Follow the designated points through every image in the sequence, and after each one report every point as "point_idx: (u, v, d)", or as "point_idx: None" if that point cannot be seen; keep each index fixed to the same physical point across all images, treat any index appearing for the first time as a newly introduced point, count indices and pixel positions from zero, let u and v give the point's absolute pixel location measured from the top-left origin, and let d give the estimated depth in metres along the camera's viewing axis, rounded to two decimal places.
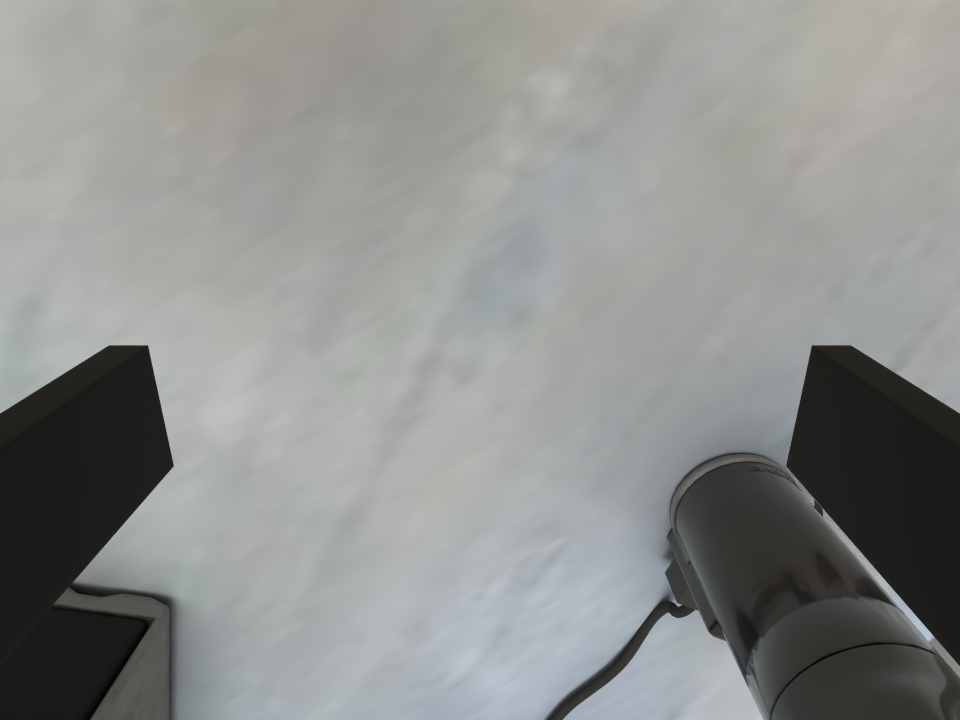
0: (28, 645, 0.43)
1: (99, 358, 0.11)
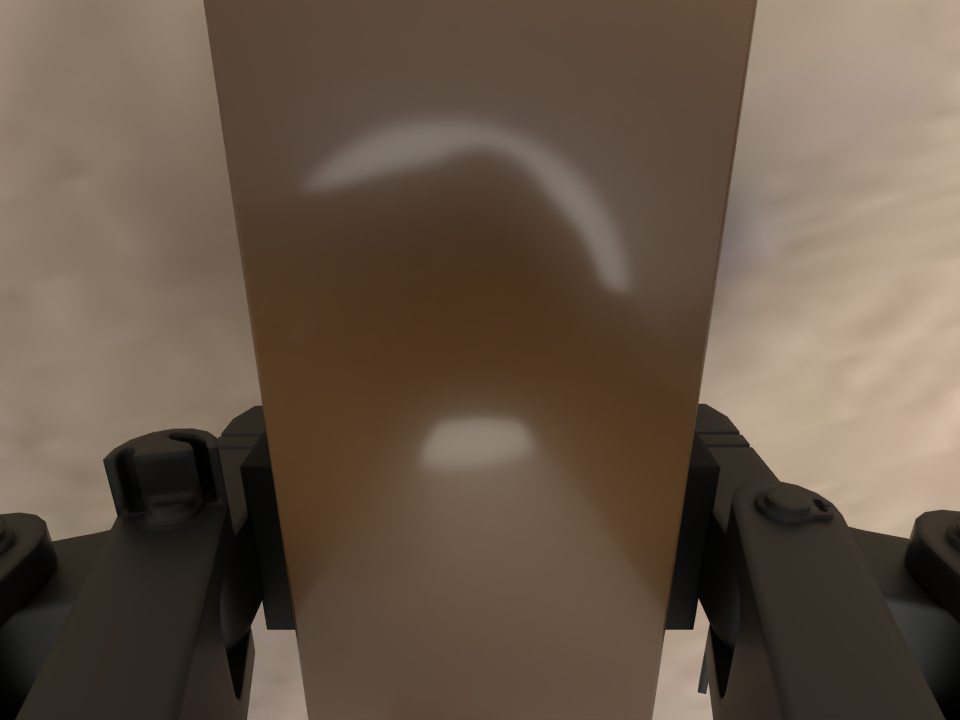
0: None
1: None
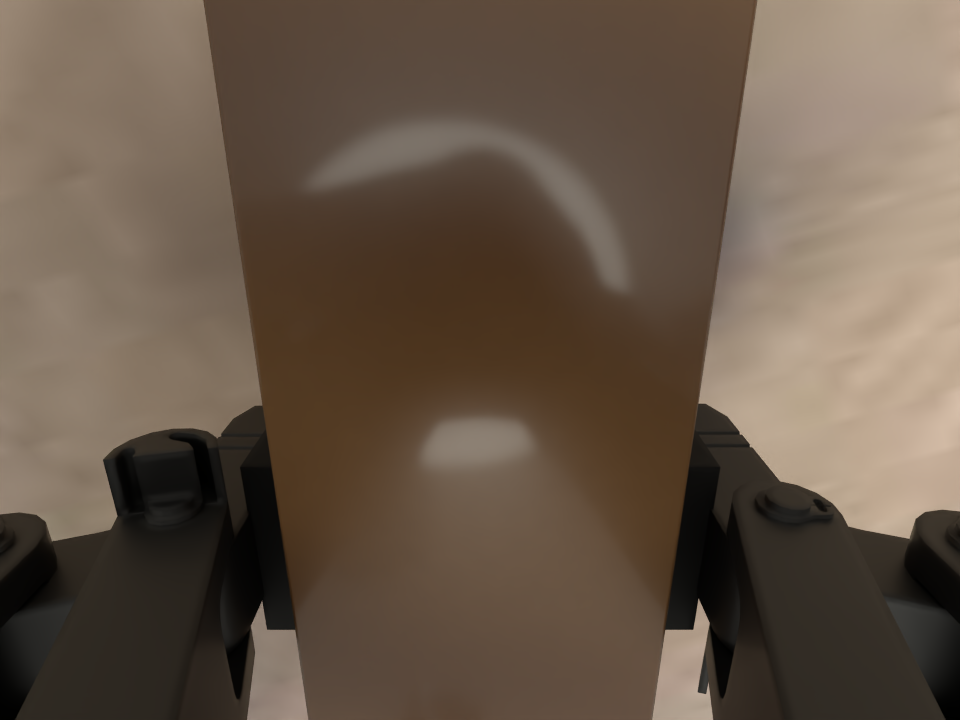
0: None
1: None
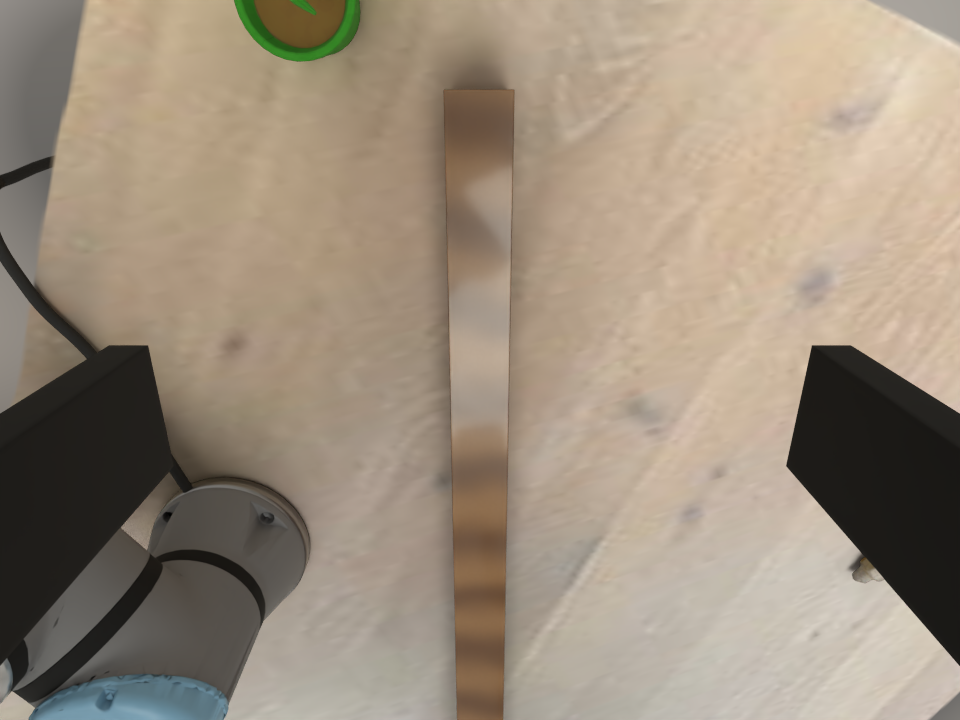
0: None
1: (99, 358, 0.11)
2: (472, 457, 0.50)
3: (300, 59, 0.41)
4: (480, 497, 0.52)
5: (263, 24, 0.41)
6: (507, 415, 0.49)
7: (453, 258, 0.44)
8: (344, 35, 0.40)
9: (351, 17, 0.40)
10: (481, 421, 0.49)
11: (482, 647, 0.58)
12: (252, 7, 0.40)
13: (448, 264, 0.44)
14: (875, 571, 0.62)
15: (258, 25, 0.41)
